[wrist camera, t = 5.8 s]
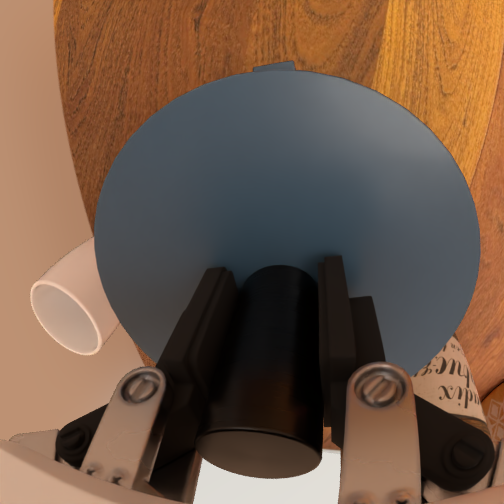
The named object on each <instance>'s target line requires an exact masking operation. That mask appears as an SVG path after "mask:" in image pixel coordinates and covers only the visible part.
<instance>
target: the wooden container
mask: <svg viewBox="0 0 504 504" xmlns="http://www.w3.org/2000/svg"><path fill="white" fill-rule="evenodd" d="M411 381H412V384H413V391H414V394H416V395H418V396H419V397H421V398H423V399H425V400H426V401H428V402H430V403H432V404H434V405H435V406H437V407H439V408H441V409H443V410H444V411H446V412H448V413H450V414H452V415H454V416H455V417H457V418H459V419H461V420H463V421H465V422H467V423H468V424H470V425H472V426H474V427H476V428H478V429H480V430H482V431H483V432H484V433H486V434H487V435H488V436H489V437H490V439H491V440H492V438H491V434H490V431H489V429H488V427H487V423H486V419H485V416H484V412H483V409H482V405H481V402H480V399H479V396H478V392H477V389H476V386H475V383H474V379H473V376H472V373H471V370H470V368H469V365H468V362H467V360H466V357H465V355H464V352H463V350H462V347H461V345H460V343H459V341H458V339H457V336H456V334H455V333H454V334H453V336H452V337H451V338H450V340H449V341H448V342H447V343H446V345H445V346H444V347H443V349H442V350H441V351H440V352H439V353H438V354H437V355H436V356H435V357H434V358H433V359H432V360H431V361H430V362H429V363H428V364H427V365H426V366H425V367H423V368H422V369H421V370H420V371H418V372H417V373H416V374H415V375H413V376H412V377H411ZM342 460H343V450H342V449H341V470H342ZM340 480H341V473H340Z"/></svg>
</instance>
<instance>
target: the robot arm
mask: <svg viewBox="0 0 504 504" xmlns="http://www.w3.org/2000/svg"><path fill="white" fill-rule="evenodd" d="M318 297H319V363H320V376H321V389H322V396H323V400H324V414H323V417H324V427H331V438H332V442H333V443H334V444H336V445H337V446H338V447H340V448H341V449H342V450H343V460H342V470H341V480H340V489H339V498H338V504H504V438H502V439H501V440H500V441H493V440H491V439H490V437H489V436H488V435H487V434H486V433H484V432H483V431H482V430H480V429H478V428H476V427H474V426H472V425H470V424H468V423H467V422H465V421H463V420H461V419H459V418H457V417H455V416H454V415H452V414H450V413H448V412H446V411H444V410H443V409H441V408H439V407H437V406H435V405H434V404H432V403H430V402H428V401H426V400H425V399H423V398H421V397H419V396H418V395H416V394H414V391H413V384H412V381H411V378H410V375H409V374H408V373H407V372H406V371H405V369H403V368H402V367H400V366H398V365H397V364H393V363H390V362H386V358H385V353H384V348H383V343H382V338H381V334H380V329H379V325H378V320H377V316H376V311H375V307H374V303H373V299H372V296H362V297H353V298H349V295H348V289H347V282H346V276H345V270H344V264H343V258H342V255H340V256H330V257H324V262H318ZM238 300H239V293H238V289H237V286H236V282H235V278H234V275H233V272H232V271H227V269H226V268H225V267H216V268H207V269H206V271H205V273H204V275H203V277H202V279H201V281H200V283H199V285H198V287H197V289H196V291H195V292H194V294H193V296H192V298H191V300H190V302H189V304H188V306H187V308H186V310H184V311H183V313H182V315H181V316H180V318H179V320H178V322H177V324H176V326H175V328H174V330H173V332H172V334H171V336H170V338H169V340H168V342H167V344H166V346H165V348H164V350H163V352H162V354H161V356H160V358H159V360H158V363H157V365H156V367H150V366H146V367H140V368H137V369H134V370H132V371H130V372H129V373H127V374H126V375H125V376H124V377H123V378H122V379H121V380H120V382H119V383H118V385H117V387H116V389H115V391H114V393H113V395H112V397H111V400H110V402H109V403H108V404H106V405H104V406H102V407H100V408H98V409H96V410H94V411H92V412H90V413H88V414H86V415H84V416H82V417H80V418H78V419H76V420H74V421H72V422H70V423H69V424H67V425H66V426H64V427H63V428H62V429H61V430H60V431H59V430H58V429H55V430H48V431H40V432H32V433H23V434H17V435H14V436H13V437H12V438H11V439H10V440H9V441H6V440H0V504H193V501H194V496H195V491H196V486H197V482H198V477H199V473H200V468H201V463H202V458H203V457H201V456H200V455H199V454H198V452H197V451H196V449H195V446H194V440H195V436H196V433H197V430H198V427H199V424H200V421H201V417H202V414H203V411H204V408H205V405H206V402H207V398H208V395H209V392H210V389H211V386H212V383H213V379H214V376H215V373H216V370H217V367H218V364H219V360H220V357H221V354H222V351H223V348H224V345H225V341H226V338H227V335H228V332H229V329H230V326H231V322H232V319H233V316H234V313H235V310H236V307H237V303H238Z"/></svg>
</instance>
